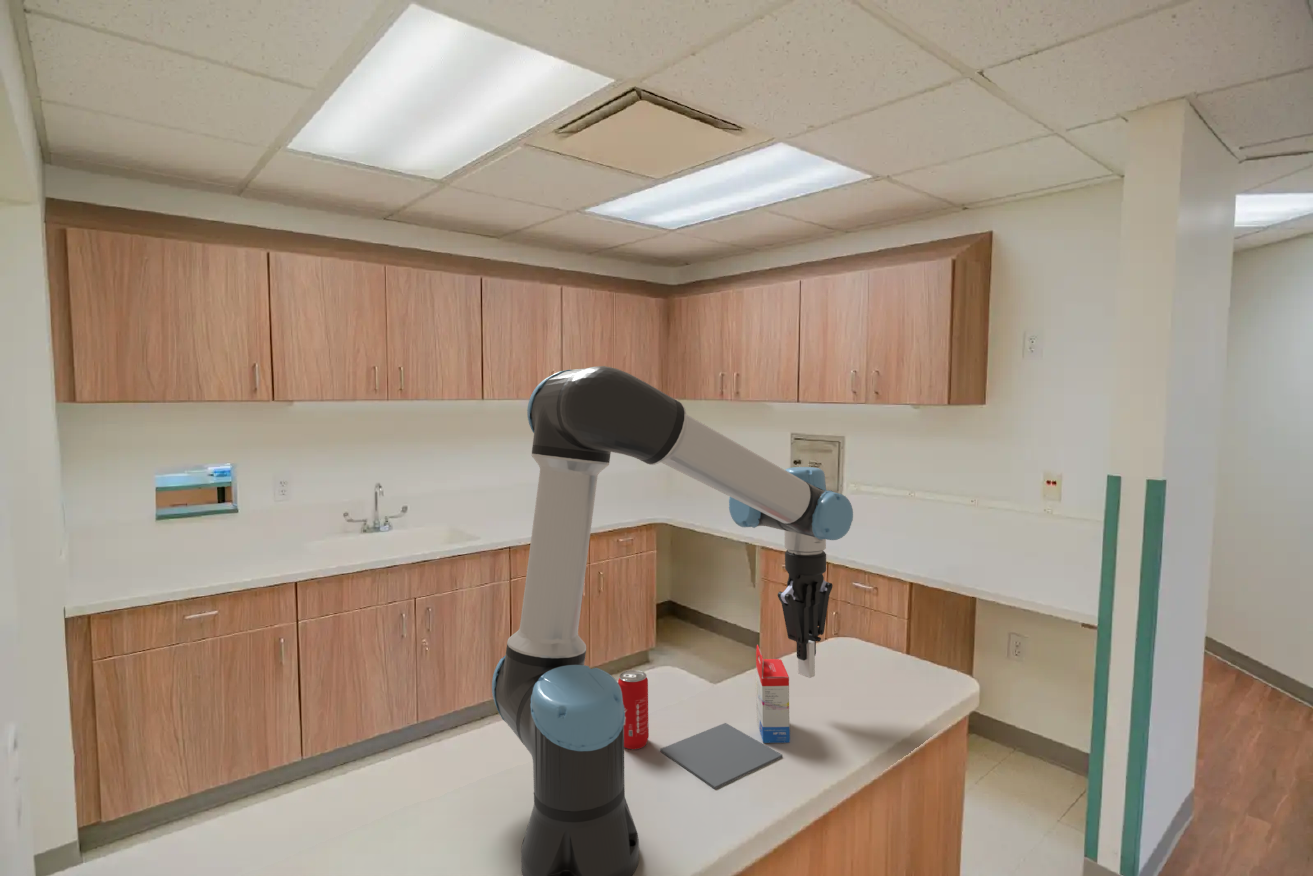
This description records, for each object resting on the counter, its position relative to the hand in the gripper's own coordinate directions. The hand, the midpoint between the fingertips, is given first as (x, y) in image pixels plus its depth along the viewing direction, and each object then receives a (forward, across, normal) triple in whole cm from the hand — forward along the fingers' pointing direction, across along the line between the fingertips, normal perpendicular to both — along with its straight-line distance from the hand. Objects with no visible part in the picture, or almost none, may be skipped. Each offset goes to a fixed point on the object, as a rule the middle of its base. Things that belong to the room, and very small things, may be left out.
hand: (806, 674), depth 121 cm
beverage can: (+8, -31, +12) cm, 34 cm away
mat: (+8, -22, 0) cm, 23 cm away
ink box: (+8, -9, 0) cm, 12 cm away
